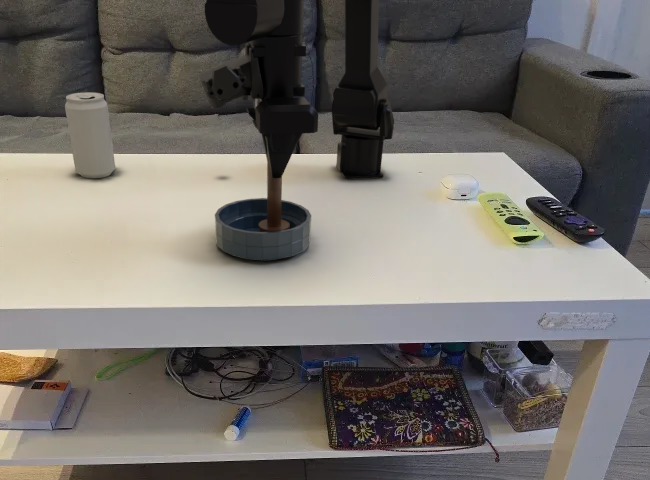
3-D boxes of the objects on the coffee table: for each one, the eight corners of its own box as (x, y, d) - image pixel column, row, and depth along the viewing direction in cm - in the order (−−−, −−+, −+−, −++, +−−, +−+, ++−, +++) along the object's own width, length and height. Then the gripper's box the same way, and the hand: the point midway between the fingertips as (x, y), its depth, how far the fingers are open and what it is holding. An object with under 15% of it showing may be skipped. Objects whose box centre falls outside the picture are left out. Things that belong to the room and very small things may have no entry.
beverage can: (87, 182, 105) (75, 102, 98) (68, 172, 109) (55, 94, 102) (123, 174, 108) (114, 96, 102) (103, 165, 112) (93, 89, 106)
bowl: (300, 224, 92) (301, 196, 89) (318, 261, 82) (319, 230, 79) (212, 229, 90) (211, 200, 88) (220, 267, 80) (219, 235, 78)
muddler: (286, 226, 87) (288, 139, 81) (292, 238, 84) (294, 148, 78) (256, 227, 87) (255, 140, 81) (260, 240, 84) (260, 149, 77)
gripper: (196, 21, 79) (203, 155, 88) (208, 48, 64) (215, 205, 73) (289, 20, 80) (287, 151, 89) (322, 46, 65) (315, 200, 74)
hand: (275, 175), depth 81 cm, fingers closed on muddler, 2 cm apart
